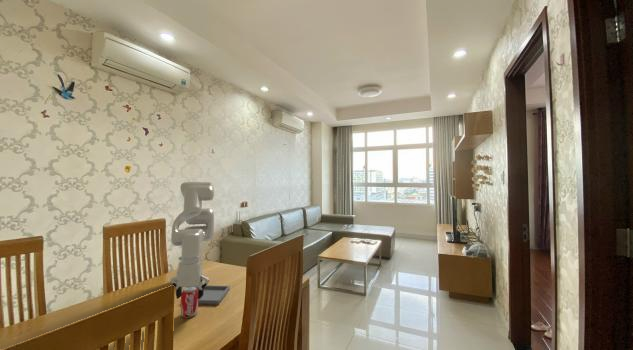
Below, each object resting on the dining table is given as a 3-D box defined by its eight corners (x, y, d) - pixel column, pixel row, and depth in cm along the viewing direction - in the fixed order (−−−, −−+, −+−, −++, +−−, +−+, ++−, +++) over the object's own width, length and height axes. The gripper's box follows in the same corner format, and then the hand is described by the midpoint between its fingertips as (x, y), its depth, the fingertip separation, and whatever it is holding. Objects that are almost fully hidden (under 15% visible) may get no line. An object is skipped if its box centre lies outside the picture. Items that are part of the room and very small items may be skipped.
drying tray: (182, 304, 124) (182, 299, 124) (197, 289, 140) (197, 285, 140) (218, 304, 124) (218, 300, 124) (229, 289, 140) (229, 285, 140)
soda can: (180, 320, 110) (181, 293, 110) (180, 312, 116) (181, 286, 116) (198, 317, 113) (198, 290, 113) (197, 309, 119) (198, 284, 119)
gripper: (166, 262, 110) (165, 301, 110) (206, 262, 111) (205, 301, 110) (176, 256, 118) (175, 293, 118) (213, 257, 118) (212, 294, 118)
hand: (189, 297), depth 114 cm, fingers open, 9 cm apart
